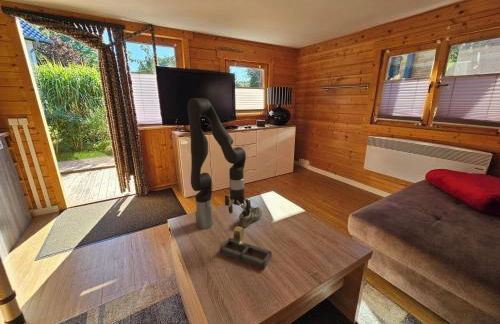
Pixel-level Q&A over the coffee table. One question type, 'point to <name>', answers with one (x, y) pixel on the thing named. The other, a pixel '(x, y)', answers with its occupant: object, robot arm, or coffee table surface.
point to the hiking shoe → (250, 217)
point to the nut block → (238, 233)
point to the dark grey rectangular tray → (246, 253)
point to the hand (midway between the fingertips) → (238, 214)
